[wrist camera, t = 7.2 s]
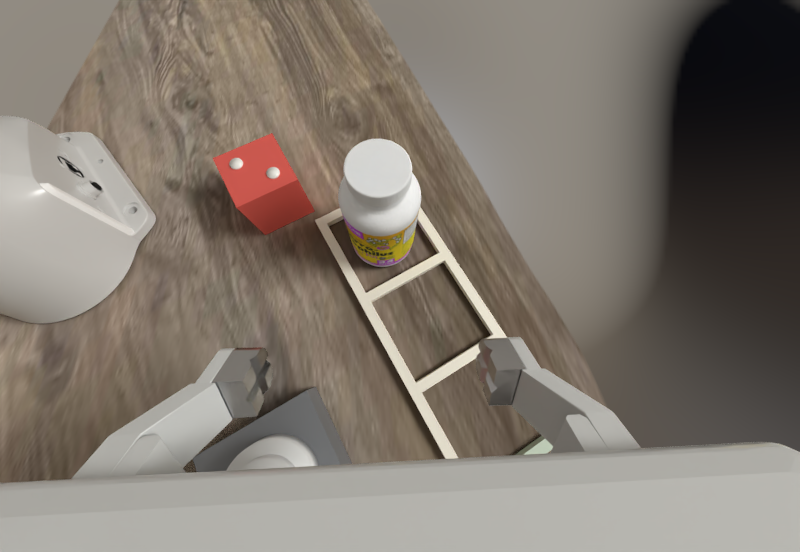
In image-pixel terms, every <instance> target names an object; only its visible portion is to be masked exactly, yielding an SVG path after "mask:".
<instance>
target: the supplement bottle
mask: <svg viewBox="0 0 800 552" xmlns="http://www.w3.org/2000/svg"><path fill="white" fill-rule="evenodd" d="M338 200H339V206H340V209H341V212H342V215H343V218H344V221H345V224H346V226H347V229H348V232H349V236H350V238H351V241H352V244H353V247H354V250H355V252H356V253H357V255H358V256H359V257H360V258H361V259H362V260H363V261H365V262H366V263H368V264H370V265H373V266H377V267H388V266H392V265H395V264H397V263H399V262H400V261H402V260H403V259H404V258H405V257H406V256H407V254H408V253H409V251H410V249H411V247H412V244H413V239H414V234H415V229H416V224H417V219H418V214H419V209H420V203H421V190H420V186H419V183H418V181H417V179H416V177H415V176H414V174H413V173H412V164H411V160H410V158H409V156H408V154H407V152H406V151H405V150H404V149H403V148H402V147H401V146H399V145H398V144H396V143H394V142H392V141H389V140H385V139H370V140H366V141H363V142H361V143H359V144H358V145H356V146H355V147H353V148H352V150H351V151H350V152H349V153H348V155H347V157H346V159H345V162H344V177H343V179H342V181H341V184H340V187H339V192H338Z"/></svg>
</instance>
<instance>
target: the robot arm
mask: <svg viewBox="0 0 800 552" xmlns="http://www.w3.org/2000/svg"><path fill="white" fill-rule="evenodd" d="M135 212H136V213H135ZM155 220H156V217H155V214H154V213H153V211H152V210H151V208H150V207H149V206H148V204H147V203H146V202H145V200H144V199H143V197H142V196H141V195H140V193H139V192H138V190H137V189H136V188H135V186H134V185H133V183H132V182H131V181H130V179H129V178H128V177H127V175H126V174H125V172H124V171H123V170H122V168H121V167H120V165H119V164H118V163H117V161H116V160H115V159H114V157H113V156H112V154H111V153H110V152H109V150H108V149H107V147H106V146H105V145H104V143H103V142H102V141H101V140H100V139H99V138H98V137H96V136H95V135H93V134H92V133H88V132H68V133H61V134H54V133H52V132H51V131H49V130H48V129H46V128H44V127H42V126H41V125H39V124H37V123H35V122H33V121H31V120H28V119H25V118H21V117H15V116H0V314H3V315H6V316H9V317H12V318H15V319H18V320H21V321H24V322H29V323H53V322H58V321H62V320H66V319H69V318H72V317H75V316H77V315H79V314H81V313H83V312H85V311H87V310H89V309H91V308H92V307H94V306H95V305H97V304H98V303H100V302H101V301H102V300H103V299H105V298H106V297H107V296H108V295H109V294H110V293H111V292H112V291H113V290H114V289H115V288H116V287H117V286H118V285H119V283H120V282H121V281H122V279H123V278H124V276H125V275H126V273H127V272H128V270H129V268H130V266H131V264H132V261H133V259H134V256H135V253H136V250H137V248H138V245H139V243H140V242H141V240H142V239H143V238H144V237H145V236H146V235H147V233H148V232H149V231H150V230H151V228H152V227H153V225H154V223H155ZM478 347H479V350H480V353H479V354H478V355H477V358H476V370H477V374H478V377H479V380H480V381H481V382H482V383H484V388H483V391H484V394H485V396H486V399H487V402H488V405H489V406H490V405H512V407H513V408H514V409H515V410H516V411H517V412H518V413H519V414H520V415H521V416H522V417H523V418H524V419H525V420H526V421H528V422H529V423H530V424H531V425H532V426H533V427H534V428H535V429H536V430H537V431H538V432H539V433H540V434H541V435H542V436H543V437H544V438H545V439H546V440H547V441H548V442H549V443H550V444H551V445H552V446H553V448H552V451H551V453H546V454H528V455H509V456H490V457H472V458H454V459H435V460H417V461H399V462H381V463H362V464H343V465H324V466H305V467H287V468H268V469H249V470H231V471H212V472H193V473H186V472H185V470H184V469H183V467H184V466H185V465H186V464H187V463H188V462H190V461H191V460H192V459H193V458H194V457H195V456H196V455H197V454H198V453H199V452H200V451H201V450H202V449H203V448H204V447H205V446H206V445H207V444H208V443H209V442H210V441H211V440H212V439H213V438H214V437H215V436H216V435H217V434H218V433H219V432H220V431H221V430H222V429H223V428H225V427H226V426H227V425H228V424H229V423H230V422H231V421H232V418H243V417H256V416H258V413H259V411H260V409H261V406H262V404H263V402H264V397H263V394H264V393H265V392H266V391H268V390H269V388H270V385H271V383H272V377H273V369H272V365H271V363H269V362H268V361H267V360H266V359H267V357H268V353H267V351H266V349H265V348H223V349H221V350H219V351H218V352H217V354H216V355H215V356H214V358H213V359H212V361H211V362H210V363H209V365H208V366H207V367H206V369H205V370H204V372H203V373H202V374H201V376H200V377H199V378H198V380H197V381H196V383H195V384H189V385H188V386H186V387H185V388H183V389H182V390H180V391H178V392H177V393H175V394H174V395H172V396H171V397H169V398H167V399H166V400H164V401H163V402H161V403H160V404H158V405H156V406H155V407H153V408H152V409H150V410H149V411H147V412H146V413H144V414H142V415H141V416H139V417H138V418H136V419H135V420H133V421H131V422H130V423H128V424H127V425H125V426H124V427H122V428H120V429H119V430H117V431H116V432H114V433H113V434H111V435H110V436H108V437H107V439H106V440H105V441H104V442H103V443H102V444H101V445H100V447H99V448H98V449H97V450H96V451H95V452H94V453H93V455H92V456H91V457H90V458H89V459H88V460H87V461H86V463H85V464H84V465H83V466H82V467H81V468H80V469H79V471H78V472H77V473H76V474H75V475H74V476H73V477H72V479H62V480H44V481H25V482H7V483H0V552H800V452H798V451H796V450H793V449H791V448H789V447H787V446H784V445H781V444H778V443H771V442H749V443H731V444H713V445H695V446H677V447H659V448H641V447H640V446H639V445H638V443H637V442H636V441H635V440H634V438H633V437H632V436H631V435H630V433H629V432H628V431H627V429H626V428H625V427H624V426H623V424H622V423H621V422H620V420H619V419H618V418H617V416H616V415H615V414H614V413H613V412H612V411H611V410H609V409H608V408H606V407H604V406H603V405H601V404H600V403H598V402H597V401H595V400H593V399H592V398H590V397H589V396H587V395H586V394H584V393H582V392H581V391H579V390H578V389H576V388H575V387H573V386H571V385H570V384H568V383H567V382H565V381H564V380H562V379H560V378H559V377H557V376H556V375H554V374H553V373H551V372H549V371H548V370H546V369H541V368H540V366H539V365H538V363H537V362H536V360H535V358H534V357H533V355H532V354H531V352H530V351H529V349H528V347H527V346H526V344H525V343H524V341H523V340H522V338H520V337H509V338H492V339H480V341H479V346H478Z"/></svg>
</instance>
